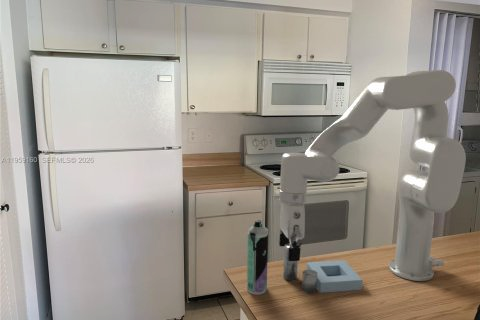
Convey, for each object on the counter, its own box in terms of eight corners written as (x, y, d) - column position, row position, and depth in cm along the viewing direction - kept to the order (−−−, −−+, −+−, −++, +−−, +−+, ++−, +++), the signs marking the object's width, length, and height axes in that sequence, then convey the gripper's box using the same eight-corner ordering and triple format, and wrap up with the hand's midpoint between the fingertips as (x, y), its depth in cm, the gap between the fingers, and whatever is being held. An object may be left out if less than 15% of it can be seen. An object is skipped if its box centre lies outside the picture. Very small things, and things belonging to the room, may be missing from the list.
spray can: (265, 295, 99) (267, 225, 95) (245, 293, 100) (246, 223, 96) (267, 285, 104) (269, 218, 100) (248, 283, 105) (249, 216, 101)
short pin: (313, 285, 104) (314, 269, 104) (318, 293, 101) (319, 276, 100) (300, 286, 104) (300, 270, 103) (304, 294, 100) (305, 277, 99)
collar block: (343, 269, 114) (344, 260, 113) (361, 289, 102) (362, 279, 102) (306, 271, 112) (306, 262, 112) (320, 292, 101) (321, 282, 100)
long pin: (294, 273, 111) (296, 242, 109) (298, 280, 107) (300, 248, 105) (281, 274, 110) (282, 243, 108) (285, 281, 106) (286, 249, 104)
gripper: (316, 205, 96) (311, 266, 99) (296, 188, 113) (292, 240, 116) (288, 206, 95) (284, 267, 98) (272, 188, 112) (269, 241, 115)
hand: (288, 252), depth 107 cm, fingers open, 9 cm apart
